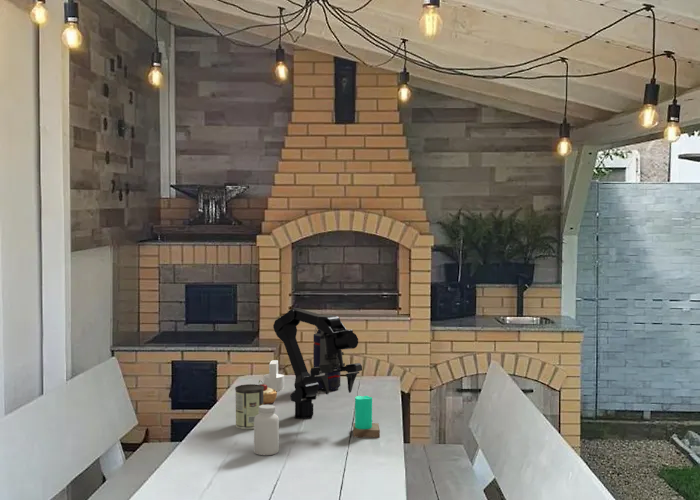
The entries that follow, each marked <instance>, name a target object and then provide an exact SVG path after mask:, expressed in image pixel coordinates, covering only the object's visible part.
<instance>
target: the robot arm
mask: <svg viewBox="0 0 700 500" xmlns="http://www.w3.org/2000/svg"><path fill="white" fill-rule="evenodd" d="M300 322H301V323H302V322H303V323H306V324H308V325H312V326H315V328H316V329H317V328H318V329H319V330H321V331H322V332H324V333H323V335H322V336H321V337H320V339H325V348H326V354H325V356H324V357H325V359H324V360H323V361H322V362H321V363H320V364H319V366H320V367H315V368H313V367H312V368H310V371H308V368H307V366H306V362H305V359H304V357H303V354H302V352H301V348H300V346H299V344H298V341H297V333H298V329H297V327H298V325H300ZM272 328H273V330H274V332H275V335H276V336H277V338H279V340H280V341H281V342H283V345H284V347H285V350H286V354H287V356H288V359H289V361H290V365H291V368H292V370H293V373H294V375H295V378H294V379H295V380H294V384H293V385H294V389H295V390H294V391H293V392H292V393H291V394H290V400H291V402H293V403H294V419H312V418H313V416H314V403H313V400H314V401H315V400H316V399H317V396H318V392H319V390H320V389H319V388H318V385H319V384H318V382H317V380H316V378H317V379H318V380H319V381H320V383H321V384H322V386H323V388H324V389H323V391H324V392H325V395H329V393H330V392H329V391H330V389H329V386H328V375H325V373H331V372H340V373H341V372H346V373H345V378H347V390H348V393H349V394H351V393H352V390H353V387H354V384H355V380H356V377H357V375H358V374H360V372H361V371H363V366H362V364H361V363H360V362H357V363H349V364H345V362H344V361H343V355H344V354H345V353H344V351H343V350H352V349H356V348H357V346H358V344H359V338H358V336H357V335H356V333H355V332H354V330H353V329H348V328H346V326H345V324H343V322H342V320H341V319H340V317H339V316H338V315H336V314H335V315H334V314H332V315H331V314H330V315H329V314H326V315H325V314H324V315H323V314H319V313H316V312H313V311H308V310H306V309H304V308H301V307H296V308H291V309H289V310H288V311H287V312H286V313H285V314H283V315H281V316H280V317H278V318H277V319H275V321H274V322H273V326H272ZM318 329H317V330H318ZM340 349H341V350H340ZM337 368H340V369H337Z"/></svg>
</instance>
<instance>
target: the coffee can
mask: <svg viewBox="0 0 700 500" xmlns="http://www.w3.org/2000/svg"><path fill="white" fill-rule="evenodd" d="M234 389H235V428H238V429H240V428H241V430H254V418H255V416H256V415H257V414H259V413H258V412H259V406H261V405H264V404H263V398H264V395H263V390H264V387H263V386H261V385H260V384H251V383H249V384H241V385H237V386H235V388H234Z"/></svg>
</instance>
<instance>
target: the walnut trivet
mask: <svg viewBox="0 0 700 500" xmlns="http://www.w3.org/2000/svg"><path fill="white" fill-rule="evenodd" d="M352 427H353V428H352V433H353V438H380V437H381V436H380V433H381V430H380V425H379V423H378V422H375V423H374V422H372V428H370V429H358V428H355V422H353V423H352Z"/></svg>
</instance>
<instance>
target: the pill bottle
mask: <svg viewBox="0 0 700 500" xmlns="http://www.w3.org/2000/svg"><path fill="white" fill-rule="evenodd" d="M275 412H276V406H275V405H273V404H263V405H261V406H259V412H258V413H259V414H257V415H256V416H255V418H254V429H253V451H254V452H253V453H255V454H256V455H259V456H273V455H276V454H278V453H279V451H280V450H279V449H280V447H279V445H280V443H279V442H280V439H279V438H280V435H279V434H280V432H279V431H280V428H279V427H280V418H279V416H278V414H276V413H275Z"/></svg>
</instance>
